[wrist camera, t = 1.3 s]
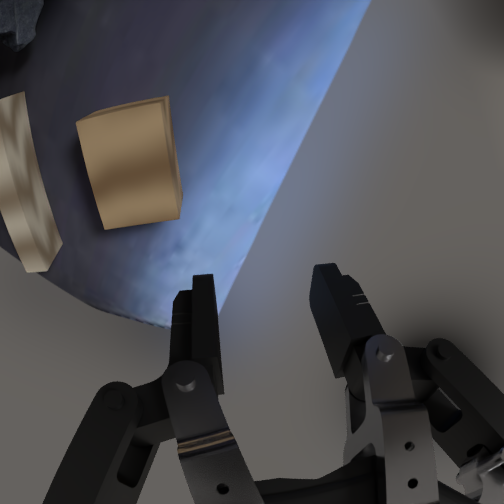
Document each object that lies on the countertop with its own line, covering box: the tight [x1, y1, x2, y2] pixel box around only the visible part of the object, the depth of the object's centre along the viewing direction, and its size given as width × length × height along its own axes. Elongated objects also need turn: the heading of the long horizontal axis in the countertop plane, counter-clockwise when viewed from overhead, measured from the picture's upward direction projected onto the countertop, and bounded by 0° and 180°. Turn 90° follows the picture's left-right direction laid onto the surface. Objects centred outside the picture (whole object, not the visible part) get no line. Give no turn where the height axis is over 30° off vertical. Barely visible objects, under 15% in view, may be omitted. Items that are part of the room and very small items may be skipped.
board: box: [0, 92, 63, 273], centre depth 22 cm, size 18×3×5 cm, turn 0°
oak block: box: [76, 96, 183, 230], centre depth 24 cm, size 10×7×5 cm
